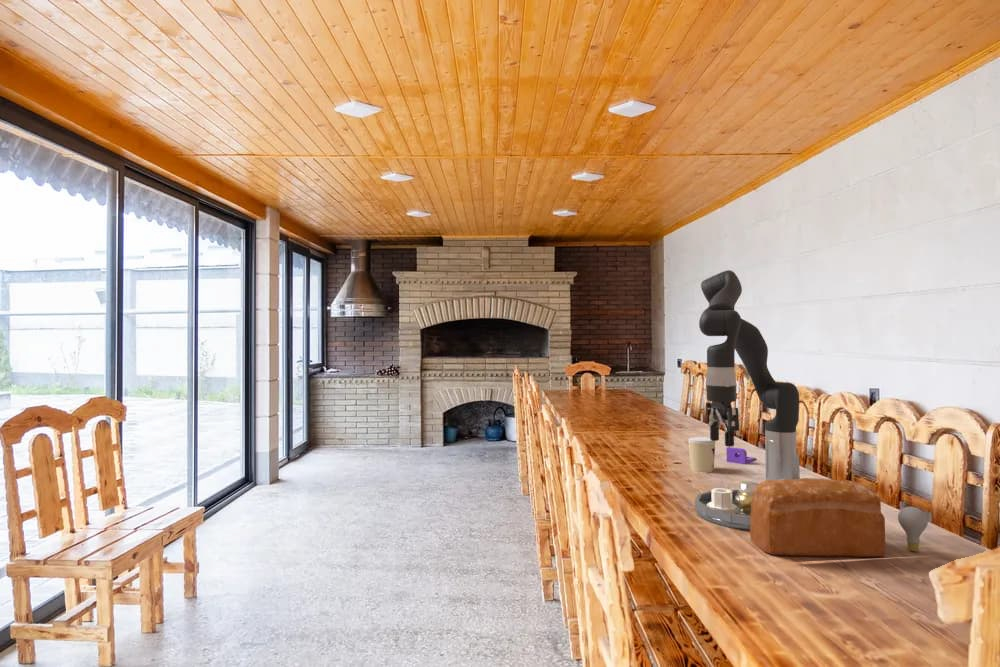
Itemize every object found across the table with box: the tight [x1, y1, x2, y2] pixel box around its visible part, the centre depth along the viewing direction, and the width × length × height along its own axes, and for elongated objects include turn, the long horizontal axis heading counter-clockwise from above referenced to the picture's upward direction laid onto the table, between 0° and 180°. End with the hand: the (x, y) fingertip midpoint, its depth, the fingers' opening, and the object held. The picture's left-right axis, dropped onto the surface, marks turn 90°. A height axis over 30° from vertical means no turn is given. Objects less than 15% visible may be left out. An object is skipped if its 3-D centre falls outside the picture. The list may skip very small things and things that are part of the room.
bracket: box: [726, 446, 757, 465], centre depth 221 cm, size 12×7×7 cm, turn 135°
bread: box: [749, 477, 886, 558], centre depth 132 cm, size 14×26×16 cm, turn 86°
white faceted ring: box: [707, 487, 737, 514], centre depth 155 cm, size 7×7×6 cm
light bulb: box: [897, 506, 929, 553], centre depth 129 cm, size 5×5×10 cm
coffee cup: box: [687, 436, 717, 474], centre depth 208 cm, size 9×9×12 cm
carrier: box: [694, 480, 759, 532], centre depth 156 cm, size 27×27×7 cm
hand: (721, 443), depth 155 cm, fingers open, 8 cm apart
